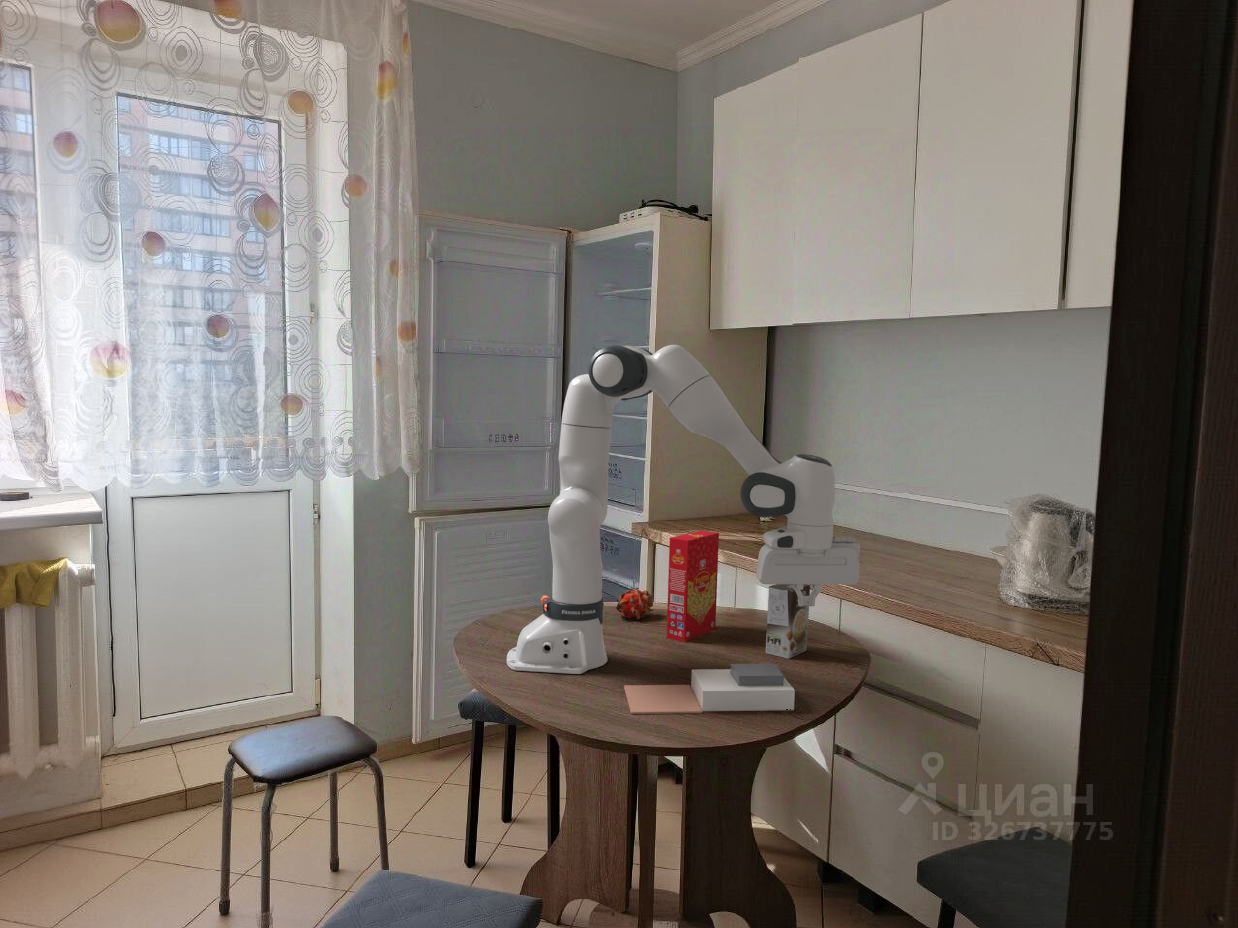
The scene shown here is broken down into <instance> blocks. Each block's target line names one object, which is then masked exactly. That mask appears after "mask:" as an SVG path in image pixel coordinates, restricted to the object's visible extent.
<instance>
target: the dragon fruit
mask: <svg viewBox="0 0 1238 928" xmlns="http://www.w3.org/2000/svg"><path fill="white" fill-rule="evenodd" d="M635 589H636V590H631V589H628V590H626V592H624V593H621V594H620V595H619V600H618V602H617V605H616V606H615V609H616V611H617V612H619V615H620V618H621V619H628V620H629V619H631V618H634V617H635V618H636V620H640V619H641V618H644V617H645V614H649V613H651V612H653V610H654V609H653V608H652V607H654V602H653V601H654V599H653V598H654V597H653V595H651V593H649V591H648V590H645V589H644V590H640V589H639V587H636V588H635ZM651 608H652V609H651Z"/></svg>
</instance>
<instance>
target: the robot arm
mask: <svg viewBox="0 0 1238 928" xmlns="http://www.w3.org/2000/svg"><path fill="white" fill-rule="evenodd" d="M567 387H568V388H567V391H566V395H565V399H564V402H563V409H562V416H561V425H560V435H559V436H560V437H559V446H558V457H557V458H558V465H559V481H560V482H559V483H560V484H559V486H560V488H559V489H560V490H559V495H558V496H556V497H555V498H554V500H553V501H552V503H551V504H550V506H549V509H548V514H547V524H548V529H549V531H548V532H549V542H550V550H551V559H552V584H551V585H552V587H551V590H552V595H551V596H550V597H549V596H548V595H542V597H541V598H540V603H541V605H542V614H541V615H540V616H538V617H537V618H536V619H534V620H533V621H531V622H530V623H528V624H527V625H526V626H525V627H523V629H522V630H521V631H520V633H519V636H518V639H517V643H516V646H514V647H513V648H511V649H509V651H507V655H506V665H507V666H508V667H509V668H510V669H511V670H513V671H520V672H521V671H523V672H540V673H555V674H572V675H573V674H574V675H581V674H583V673H586V672H587V671H588V670H593V669H596V668H599V667H601V666H604V665H605V664H607V662H608V656H607V651H606V648H605V642H604V641H605V640H604V633H603V622H604V617H605V615H604V614H605V604H604V598H603V595H602V593H603V561H602V553H601V552H602V551H601V536H600V535H601V534H600V532H601V525H603V524H604V522H605V520H606V518H607V516H608V515H607V514H608V501H609V463H610V462H609V460H610V450H611V439H612V427H613V417H614V416H613V415H614V411H615V410H614V409H615V407H616V405H617V403H618V402H620V400H621V401H628V400H632V399H633V400H634V399H639V398H642V397H646V396H647V395H649V394H651V393H653V392H654V393H655V394H656V395H657V396H658V397H659V398H660V399H661V400H662V401H663V403H664V404H665V405H666V407H667V408H668V410H669V411H670V413H671V414H672V415H673V416H674V417H675V418H676V420H677V421H678V422H679V423H680V424H681V425H682V426H684V427H685V428H686V429H687V430H688V431H689V432H691V433H693V434H695V435H699V436H702V437H705V438H709V439H710V440H712V441H715V442H717V443H718V444H720V445H722V446H723V447H725V449H726V450H728V452H729V453H730V455H732V456H733V458H734V459H735V460H736V461H737V462H738V463H739V465H741V467H742V468H743V470H745V471H746V473H747V474H748V476H747V477H746V478H744V481H743V483H742V484H741V486H740V494H739V495H740V500H741V503H742V505H743V508H744V509H745V510H746V511H747V512H748V513H749V514H751V515H753V516H754V517H758V518H762V519H763V518H764V519H769V518H774V517H780V516H786V517H787V524H786V525H785V526H782V527H778V528H775V529H773V530H769V531H766V532H765V533H763V536H762V541H763V542H764V543H765V544H763V546H762V547H760V549H759V552H758V557H757V563H756V573H755V574H756V578H757V580H758V581H759V582H760V583H761V584H762V585H775V584H793V588H794V590H795V591H796V593H797V595H798V605H799V606H809V607H815V606H816V598H817V597H818V595H819V594H820V593H821V591H822V587H823V586H822V585H856V584H858V582H859V581H860V561H859V557H860V553H861V546H860V543H859V541H858V540H856V539H854V538H853V537H847V536H846V537H839V536H836V537H835V536H834V518H833V507H834V505H835V495H836V490H835V489H836V483H835V482H836V480H835V471H834V467H833V465H832V464H831V462H830V461H828V460H827V459H825V458H824V457H821V456H817V455H814V454H806V453H799V454H795V455H793V457H792V458H789V459H788V460H785V461H783V462H782V461H779V459H777V458H776V457H775V456H774V455H772V453H771V452H770V451H769V450H768V449H767V448H766V447H765V445H764V444H763V443H762V442H761V441H760V439H759V438H758V437H757V436H756V435H755V434H754V433H753V431H752V430H751V429H750V428H749V427H748V426H747V424H745V422H744V421H743V420H742V418H741V417H740V415H739V413H738V412H737V411H736V409H735V408H734V406H733V405H732V404H731V402H730V400H729V399H728V397H727V396H726V395H725V393H724V392H723V390H722V389H721V387H720V386H719V384H718V383H717V381H716V380H715V379H714V378H713V376H712V375H711V374H710V373H709V372H708V370H707V369H706V368H705V367H704V366H703V365H702V363H701V362H700V361H699V360H698V359H697V358H695V357H694V355H692V354H691V353H690V352H689V351H688V350H687V349H685V348H684V347H683V346H681V345H678V344H669V345H666V346H663V347H661V348H660V349H658V350H657V351H656V352H655V353H652V352H651V351H649V350H647V349H644V348H640V347H637V346H633V345H618V344H617V345H615V344H614V345H608V346H605V347H602V348H601V349H599V350H597V351H596V352H595V354H594V355H592V357H591V359H590V362H589V364H588V373H586V374H585V373H584V374H579V375H577V376H576V377H574V378H572V380H571V381H570V382H569V384H568V386H567ZM803 584H808V585H810V588H812V591H810V595H809V596H803V594H802V592H801V590H803ZM800 589H801V590H800Z"/></svg>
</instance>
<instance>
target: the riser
mask: <svg viewBox="0 0 1238 928" xmlns="http://www.w3.org/2000/svg"><path fill="white" fill-rule="evenodd" d="M730 670H731V668H727V669H726V668H724V669H723V668H720V669H719V668H718V669H715V668H714V669H713V668H712V669H709V668H708V669H706V668H705V669H704V668H702V669H701V668H699V669H691V682H690V687H691V689H692V691H693V693H694V695H695V697H696V699H697V701H698V703H699V705H700V707H701V709H702V712H738V711H739V712H745V711H746V712H748V711H749V712H750V711H753V712H754V711H757V712H758V711H794V710H795V696H796V695H795V694H796V693H795V692H796V690H795V689H794V687H793V686H792V685H791V684H790V683H789V681H788V679H786V677H784V685H782V686H738V684H737V683H736V681H735V680H734V678H733V677H732V675H731V674H730ZM786 709H788V710H786ZM790 709H791V710H790Z"/></svg>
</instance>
